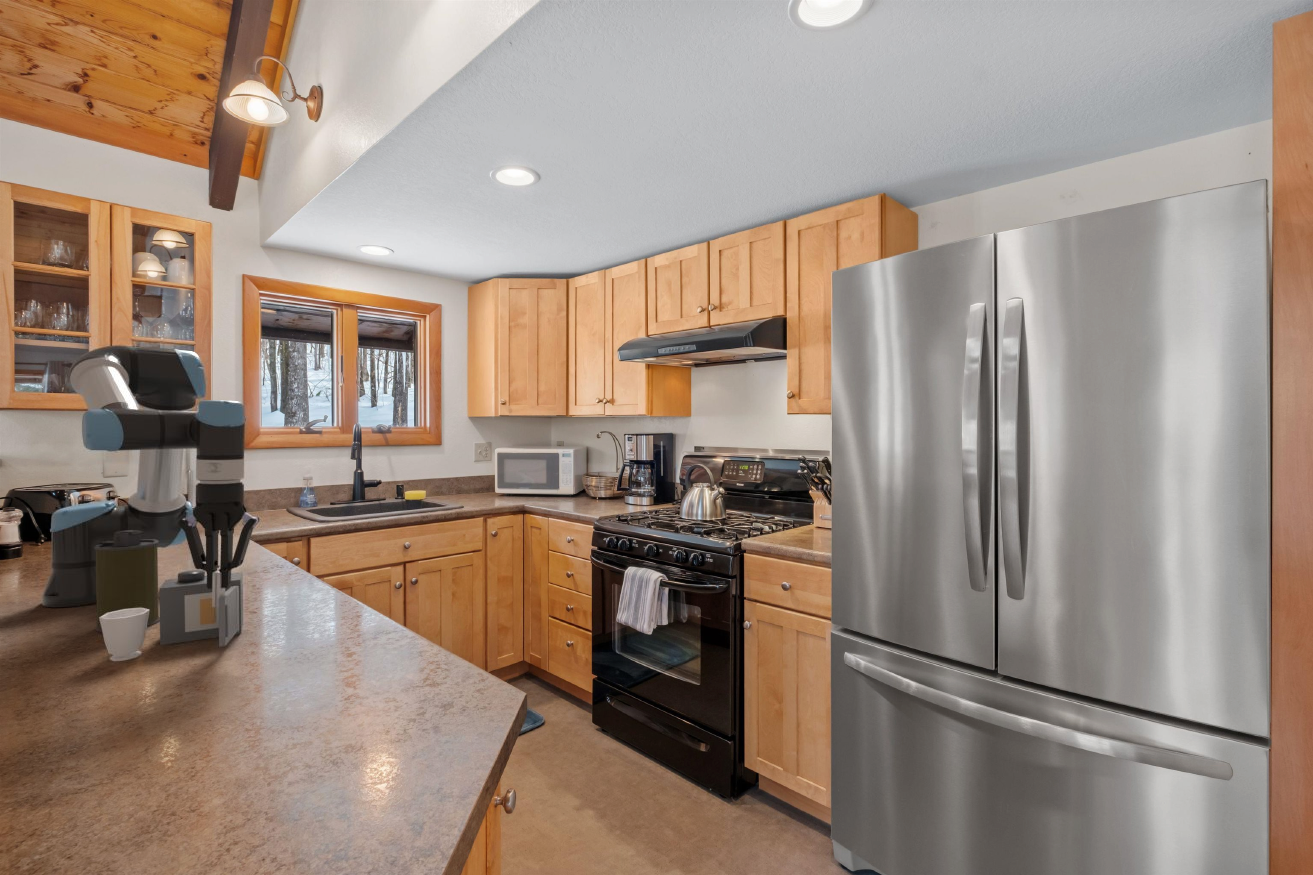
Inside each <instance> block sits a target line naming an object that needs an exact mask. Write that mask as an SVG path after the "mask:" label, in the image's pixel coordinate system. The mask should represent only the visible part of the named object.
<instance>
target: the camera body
mask: <svg viewBox="0 0 1313 875" xmlns="http://www.w3.org/2000/svg"><path fill="white" fill-rule="evenodd" d="M243 578H244V577H243V571H238V572H231V584H230V586H229V587H227V588H225V592H226V591H227V590H228V589H230V587H231V586H238V589H239V631H238V632H237V633H236V634H235V635H240V634H242V631H243V626H244V587H243V586H244V582H243V581H244V580H243ZM158 603H159V617H160V621H159V642H160V643H159V645H160V646H164V645H172V644H177V643H178V644H179V643H185V642H192V641H199V640H205V639H206V640H207V639H213V638H219V607H212V589H208V588H207V575H206V571H205V570H202V569H194V570H187V571H182V572H179V573H177V578H170V579H165V580H164V581H163V583H162V584H161V586H160V587H158Z"/></svg>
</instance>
